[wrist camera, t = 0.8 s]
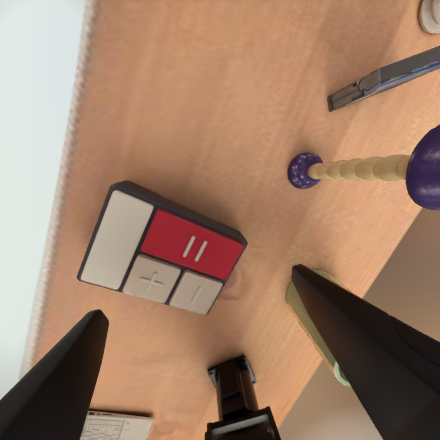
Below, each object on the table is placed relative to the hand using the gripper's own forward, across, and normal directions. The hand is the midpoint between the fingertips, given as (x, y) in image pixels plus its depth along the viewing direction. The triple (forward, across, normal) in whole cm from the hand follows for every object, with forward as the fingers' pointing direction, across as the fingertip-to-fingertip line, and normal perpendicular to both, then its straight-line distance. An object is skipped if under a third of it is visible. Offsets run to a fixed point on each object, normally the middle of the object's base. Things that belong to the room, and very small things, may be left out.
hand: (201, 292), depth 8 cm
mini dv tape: (+16, -21, -7) cm, 27 cm away
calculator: (+13, +4, +6) cm, 15 cm away
